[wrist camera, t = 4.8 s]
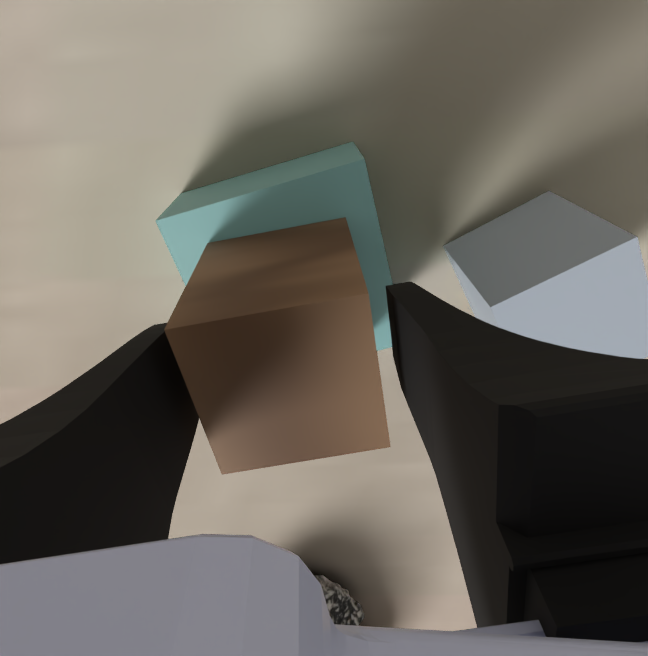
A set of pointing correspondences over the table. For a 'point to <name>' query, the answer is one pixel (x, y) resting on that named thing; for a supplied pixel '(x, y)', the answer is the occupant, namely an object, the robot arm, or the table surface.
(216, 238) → the teal slab
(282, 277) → the walnut block
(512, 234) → the bluegrey block
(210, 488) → the table surface
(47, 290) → the table surface
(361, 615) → the rock
